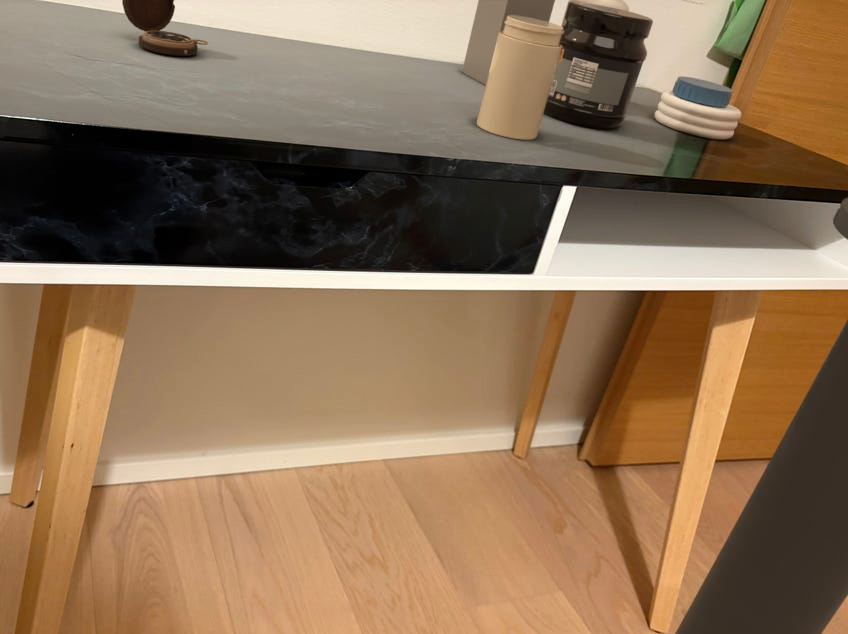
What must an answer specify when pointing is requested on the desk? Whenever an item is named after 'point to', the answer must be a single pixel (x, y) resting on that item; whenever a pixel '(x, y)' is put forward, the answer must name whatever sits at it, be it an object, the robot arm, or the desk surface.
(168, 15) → the compass
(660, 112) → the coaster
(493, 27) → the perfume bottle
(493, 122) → the jar
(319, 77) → the desk surface
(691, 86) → the lid
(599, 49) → the supplement container
